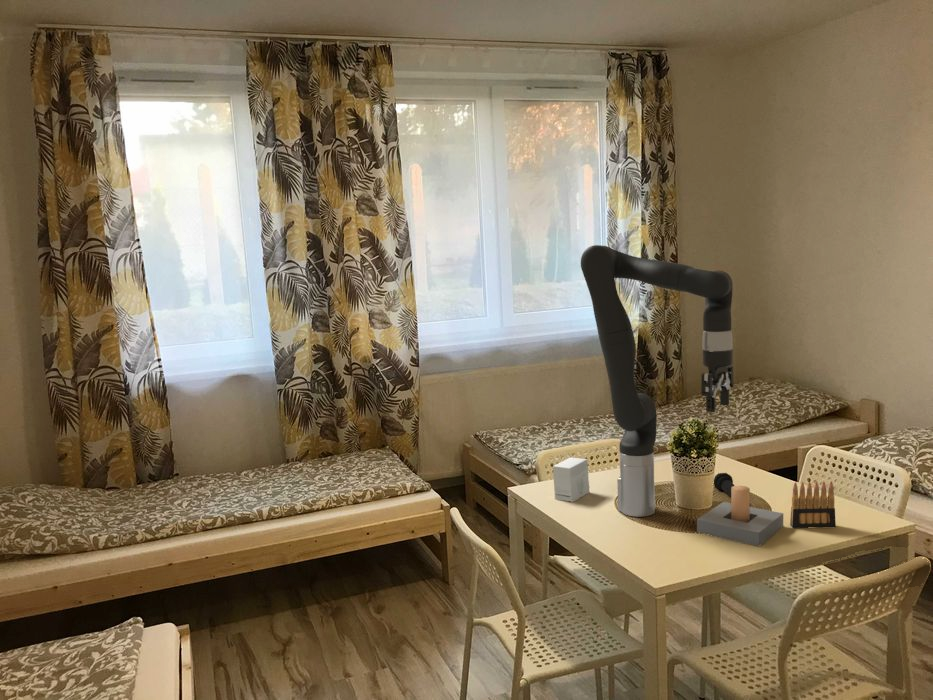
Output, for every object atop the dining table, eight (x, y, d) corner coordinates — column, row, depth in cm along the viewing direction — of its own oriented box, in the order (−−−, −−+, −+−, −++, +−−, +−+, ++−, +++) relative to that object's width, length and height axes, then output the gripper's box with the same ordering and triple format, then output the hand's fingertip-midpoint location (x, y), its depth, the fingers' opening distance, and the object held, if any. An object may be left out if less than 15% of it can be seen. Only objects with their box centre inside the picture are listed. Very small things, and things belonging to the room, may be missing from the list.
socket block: (697, 532, 197) (696, 519, 197) (723, 514, 209) (723, 501, 208) (758, 546, 186) (758, 532, 186) (783, 526, 198) (783, 513, 198)
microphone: (754, 519, 212) (724, 488, 232) (761, 500, 211) (730, 471, 230) (736, 515, 212) (707, 484, 231) (743, 496, 210) (714, 467, 230)
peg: (728, 530, 197) (728, 489, 196) (735, 525, 201) (735, 484, 199) (745, 533, 195) (745, 492, 193) (752, 528, 198) (752, 487, 196)
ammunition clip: (792, 528, 197) (792, 483, 195) (790, 525, 198) (790, 480, 197) (835, 527, 196) (836, 482, 194) (833, 524, 197) (833, 479, 196)
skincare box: (571, 489, 237) (570, 456, 235) (589, 492, 233) (588, 459, 231) (553, 499, 229) (552, 465, 227) (572, 502, 225) (570, 468, 223)
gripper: (715, 343, 208) (716, 401, 210) (691, 350, 198) (692, 412, 200) (742, 344, 203) (742, 404, 205) (719, 352, 193) (719, 415, 195)
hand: (717, 408), depth 203 cm, fingers open, 8 cm apart
